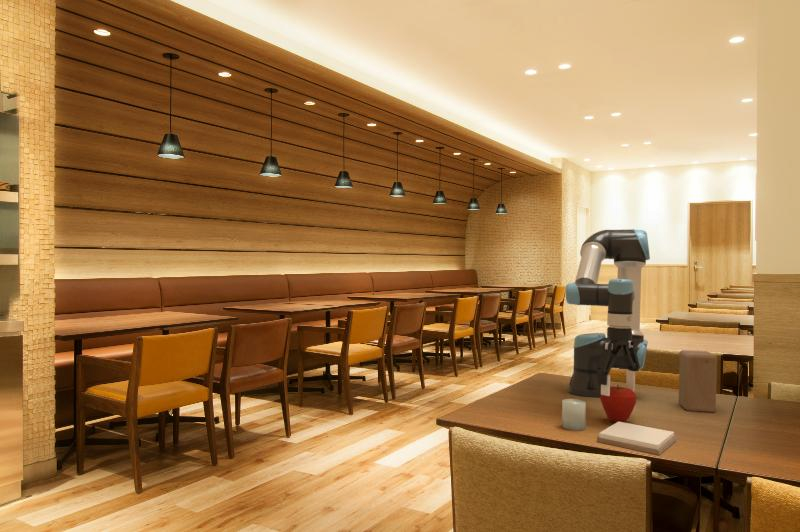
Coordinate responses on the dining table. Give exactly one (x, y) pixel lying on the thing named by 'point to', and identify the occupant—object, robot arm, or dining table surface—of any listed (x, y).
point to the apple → (618, 403)
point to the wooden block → (697, 380)
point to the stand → (637, 437)
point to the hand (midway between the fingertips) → (618, 392)
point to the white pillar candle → (573, 414)
